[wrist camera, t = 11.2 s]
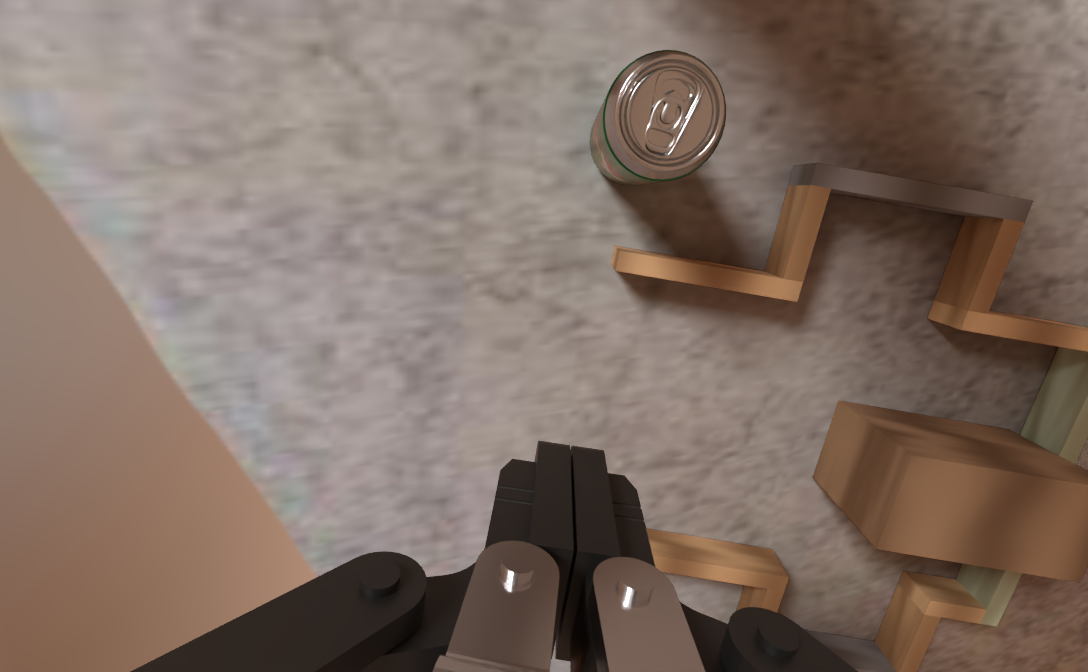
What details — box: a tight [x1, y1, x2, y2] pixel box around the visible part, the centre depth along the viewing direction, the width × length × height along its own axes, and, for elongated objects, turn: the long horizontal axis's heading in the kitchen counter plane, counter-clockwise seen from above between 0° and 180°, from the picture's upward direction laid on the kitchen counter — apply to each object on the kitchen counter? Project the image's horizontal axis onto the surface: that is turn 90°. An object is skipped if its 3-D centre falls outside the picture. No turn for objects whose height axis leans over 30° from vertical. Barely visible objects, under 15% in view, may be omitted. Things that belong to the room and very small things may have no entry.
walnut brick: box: [813, 401, 1088, 583], centre depth 33 cm, size 12×6×8 cm, turn 80°
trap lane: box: [611, 163, 1088, 672], centre depth 36 cm, size 31×34×3 cm
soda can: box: [590, 50, 726, 185], centre depth 27 cm, size 5×5×12 cm
